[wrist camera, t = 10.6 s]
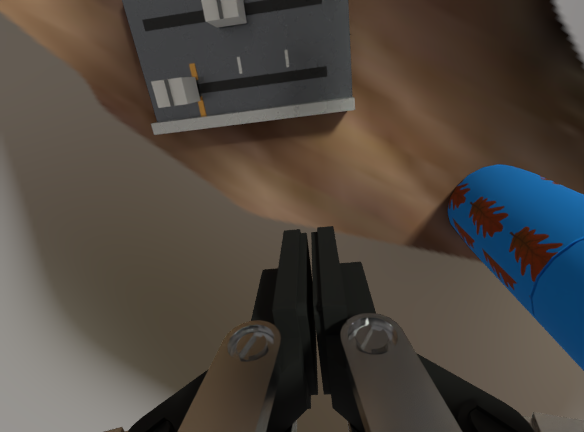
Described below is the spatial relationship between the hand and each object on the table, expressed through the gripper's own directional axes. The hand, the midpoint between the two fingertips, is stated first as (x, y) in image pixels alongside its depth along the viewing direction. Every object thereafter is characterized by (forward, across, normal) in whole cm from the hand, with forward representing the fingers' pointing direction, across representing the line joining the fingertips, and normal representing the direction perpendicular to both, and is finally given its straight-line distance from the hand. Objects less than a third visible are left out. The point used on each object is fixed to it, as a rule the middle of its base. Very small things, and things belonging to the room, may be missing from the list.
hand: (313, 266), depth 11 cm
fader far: (+27, +13, -6) cm, 30 cm away
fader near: (+27, +6, -13) cm, 30 cm away
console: (+29, +6, -9) cm, 31 cm away
